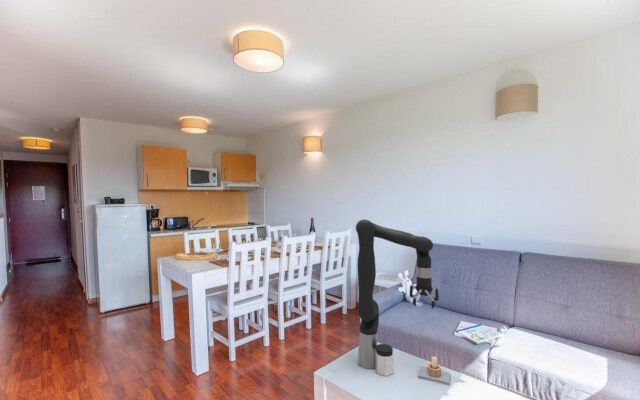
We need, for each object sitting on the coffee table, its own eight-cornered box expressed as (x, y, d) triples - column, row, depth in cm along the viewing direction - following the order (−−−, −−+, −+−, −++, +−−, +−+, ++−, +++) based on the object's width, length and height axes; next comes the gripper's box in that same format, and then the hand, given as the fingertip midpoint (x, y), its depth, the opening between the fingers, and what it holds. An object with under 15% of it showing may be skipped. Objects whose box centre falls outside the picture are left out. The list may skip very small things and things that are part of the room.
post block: (417, 377, 151) (418, 358, 150) (420, 368, 159) (420, 350, 159) (449, 385, 145) (449, 365, 144) (450, 375, 153) (450, 356, 153)
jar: (383, 378, 150) (383, 353, 150) (372, 370, 157) (372, 346, 157) (396, 372, 155) (396, 348, 155) (384, 365, 162) (384, 342, 162)
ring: (426, 375, 150) (426, 368, 150) (428, 369, 156) (428, 362, 156) (440, 378, 148) (440, 371, 148) (441, 372, 153) (441, 365, 153)
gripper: (408, 275, 161) (408, 307, 162) (438, 279, 155) (437, 311, 155) (411, 272, 168) (410, 302, 168) (439, 275, 162) (439, 306, 162)
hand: (423, 306), depth 162 cm, fingers open, 8 cm apart
